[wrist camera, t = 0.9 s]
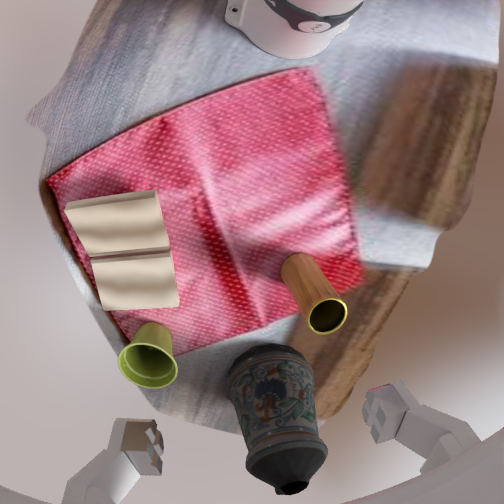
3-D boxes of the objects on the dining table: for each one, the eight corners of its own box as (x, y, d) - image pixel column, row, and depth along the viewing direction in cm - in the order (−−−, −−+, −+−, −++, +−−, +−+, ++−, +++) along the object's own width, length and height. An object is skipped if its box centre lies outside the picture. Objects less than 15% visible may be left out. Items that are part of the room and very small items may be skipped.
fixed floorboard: (94, 256, 44) (90, 260, 43) (171, 248, 45) (169, 252, 44) (106, 305, 47) (103, 311, 46) (179, 301, 49) (178, 306, 47)
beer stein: (293, 327, 53) (339, 440, 29) (323, 391, 60) (362, 485, 36) (209, 363, 54) (212, 481, 30) (252, 419, 60) (269, 516, 37)
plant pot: (163, 304, 48) (155, 334, 40) (191, 346, 52) (188, 379, 44) (119, 324, 49) (106, 354, 41) (148, 362, 52) (140, 394, 44)
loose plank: (67, 202, 36) (63, 211, 35) (155, 189, 37) (154, 198, 36) (91, 248, 43) (89, 257, 42) (169, 240, 45) (169, 249, 44)
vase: (281, 290, 50) (304, 342, 37) (278, 256, 48) (302, 299, 34) (317, 284, 50) (350, 331, 37) (315, 249, 48) (351, 289, 35)
